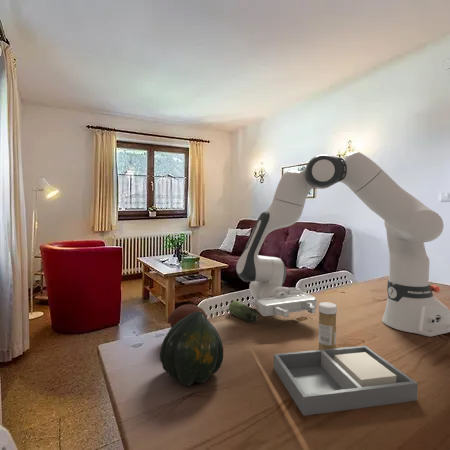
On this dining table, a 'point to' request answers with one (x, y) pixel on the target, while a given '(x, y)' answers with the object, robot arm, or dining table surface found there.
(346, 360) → the cream rectangular block
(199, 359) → the squash
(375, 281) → the dining table surface
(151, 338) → the dining table surface
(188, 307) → the muffin
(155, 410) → the dining table surface
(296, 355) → the tray
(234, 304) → the vegetable
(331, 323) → the sprinkles bottle
